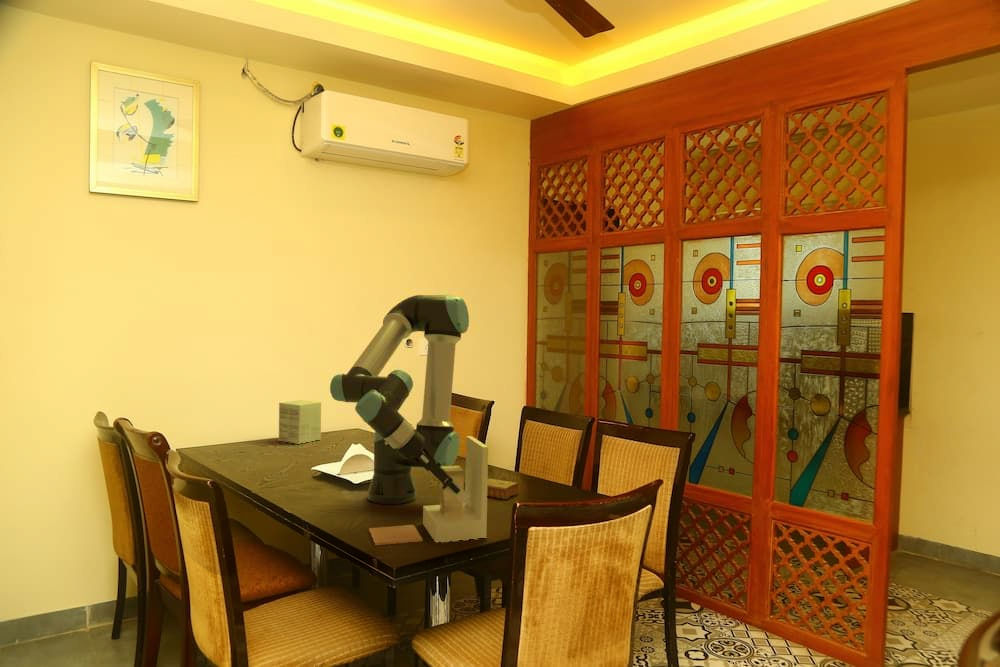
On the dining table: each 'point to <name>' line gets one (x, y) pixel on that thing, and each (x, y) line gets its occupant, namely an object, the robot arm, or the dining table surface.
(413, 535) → the tile pad
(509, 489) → the carton
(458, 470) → the maple block
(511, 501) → the dining table surface
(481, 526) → the l-shaped bookend
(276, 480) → the dining table surface
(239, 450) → the dining table surface
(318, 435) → the supplement box
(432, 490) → the dining table surface
